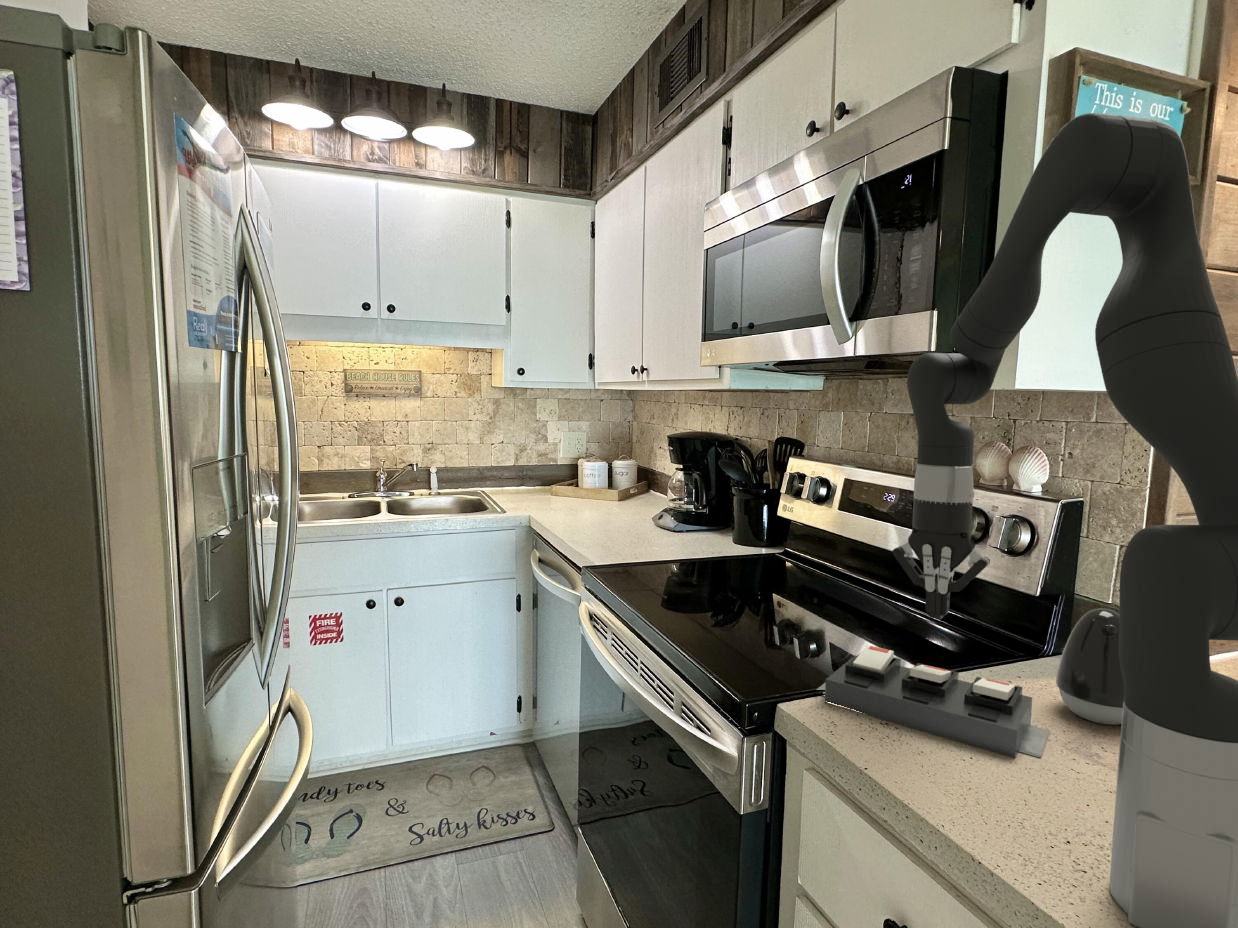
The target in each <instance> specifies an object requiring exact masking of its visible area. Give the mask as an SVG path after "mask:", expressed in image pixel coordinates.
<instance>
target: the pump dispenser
mask: <svg viewBox="0 0 1238 928" xmlns="http://www.w3.org/2000/svg"><path fill="white" fill-rule="evenodd" d="M1119 619H1120V612H1119V613H1118V612H1117V611H1115V610H1112V609H1109V608H1101V607H1100V608H1094V609H1091V610H1088V611H1087V612H1086V613H1084V614H1083V615H1082V616H1081V618H1079V619H1078V621H1077V622H1076V624H1075V625H1074V627H1073V628H1072V630H1071V633H1070V635H1069V636H1068V638H1067V641H1066V642H1065V646H1064V647H1063V651H1062V654H1061V657H1060V660H1059V664H1058V669H1057V672H1056V679H1055V680H1056V686H1057V687H1058V690H1059V691H1058V692H1059V694H1060V697H1061V700H1062V701H1063V703H1064V704H1065V705H1066V707H1067V708H1068V709H1069V710H1070V711H1071V712H1072V713H1074V714H1075V715H1077V716H1079V717H1080V718H1081V719H1082V718H1083V719H1085V720H1086V721H1090V722H1092V723H1096V724H1101V725H1105V726H1106V725H1109V726H1114V725H1122V713H1123V701H1124V682H1123V676H1122V672H1121V668H1120V662H1119Z"/></svg>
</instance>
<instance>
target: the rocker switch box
mask: <svg viewBox="0 0 1238 928" xmlns="http://www.w3.org/2000/svg"><path fill="white" fill-rule="evenodd" d="M859 654H860V653H858V654H856V655H855V654H854V656H853V657H851V658H850V659H849V660H848V661H847V662H844V664H843V665H842V666H840V667H839V668H838V669H836V670H835V671H834V672H833V673H832V674H830V675H829V676H828V677H827V678H825V682H824V683H823V684H821V685H820V686H819V687H817V688H816V690H825V692H823V694H825V697H824V702H825V701H827V702H831V703H834V704H837V705H841V706H844V707H847V708H850V709H854V710H856V711H859V712H862V713H865V714H868V715H867V716H869V715H871V716H870V717H872V716H874V717H873V718H876V719H878V720H879V719H880V720H883V721H887V722H890V723H894V724H897V725H901V726H903V727H906V728H910V729H914V730H916V731H921V732H924V733H928V734H932V735H935V736H938V737H942V738H945V739H948V740H953V741H955V742H958V743H962V744H965V745H969V746H972V747H977V748H979V749H983V750H986V751H990V752H994V753H997V754H1000V755H1003V756H1007V757H1011V758H1015V759H1016V758H1017V756H1018V753H1021V754H1024V755H1025V754H1026V755H1030V756H1033V757H1037V758H1042V755H1043V752H1044V750H1045V747H1046V744H1047V742H1048V738H1049V735H1050V733H1051V732H1050V730H1049V729H1045V728H1042V727H1038V726H1034V725H1030V724H1031V723H1032V707H1033V697H1031V696H1028V695H1024V694H1023V690H1024V689H1023V686H1018V685H1015V692H1014V694H1013V695H1012V696H1011V697H1010V698H1009V699H1008V700H1004V699H1000V698H996V697H992V696H988V695H984V694H979V693H975V692H973V684H974V683H976V682H977V681H979V680H980V679H982V678H983V677H980V676H976V677H975V679H974V680H973V682H969V681H964V680H960V679H959V672H958V671H954V670H950V669H945V668H941V667H939V668H940V669H944V670H946V671H951V677H950V678H949V679H948V680H946V681H944V682H942V683H938V682H934V681H930V680H926V679H922V678H918V677H914V676H910V667H906V666H902V665H901V661H902V660H901V658H899V657H895V656H894V657H893V659H892V660H891V662H890V663H889V665H888V666H887V667H886V669H885V670H884V671H883V672H878V671H874V670H870V669H866V668H862V667H858V666H854V665H853V662H854V661H855V659H856V658H857V657H858V656H859ZM919 665H927V666H930V665H929V664H924V663H919V662H917V663H916V664H915V665H914V666H913V667H916V666H919ZM931 666H932V665H931ZM932 667H934V666H932ZM936 668H938V667H937V666H936ZM862 713H861V714H862ZM865 714H864V715H865Z"/></svg>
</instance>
